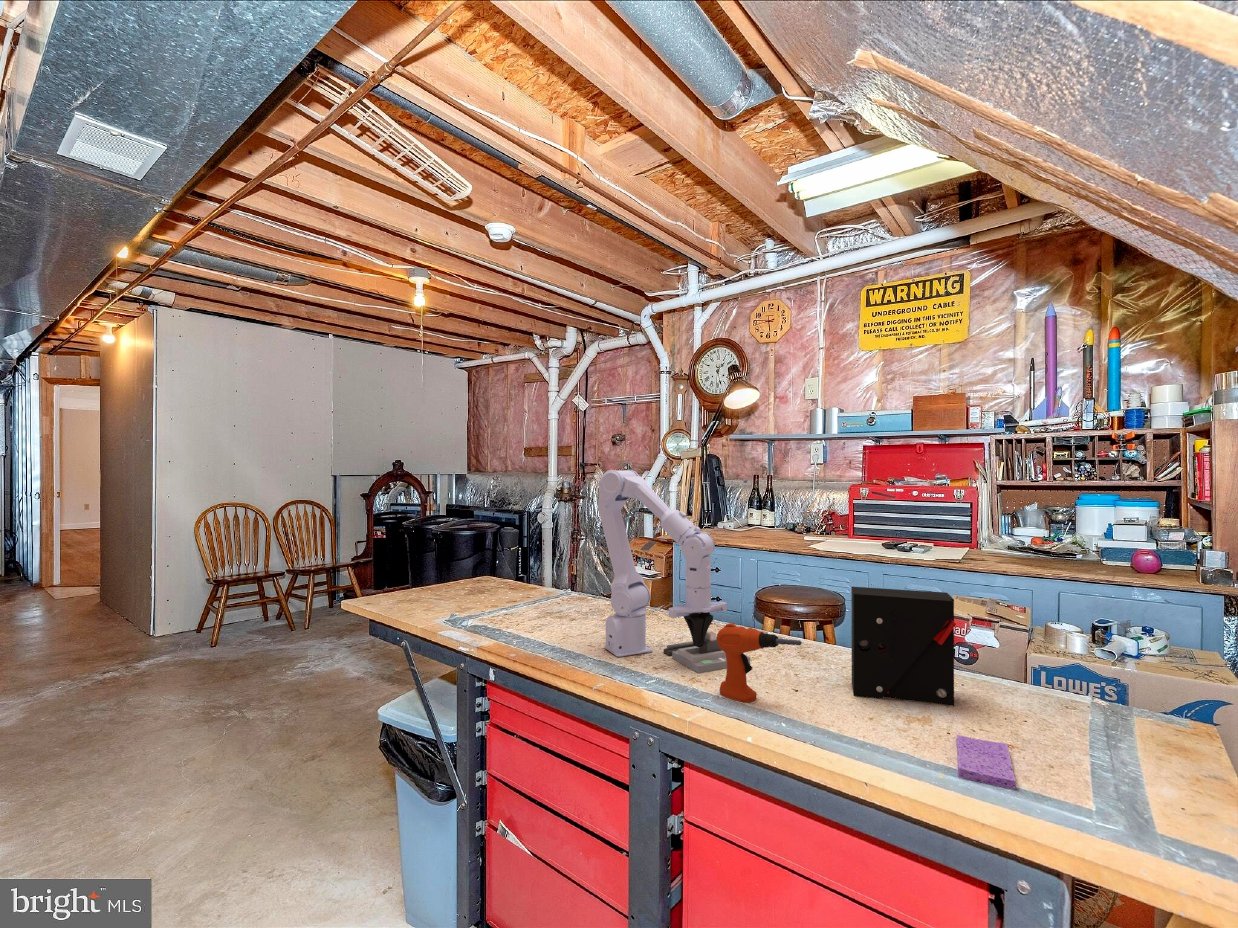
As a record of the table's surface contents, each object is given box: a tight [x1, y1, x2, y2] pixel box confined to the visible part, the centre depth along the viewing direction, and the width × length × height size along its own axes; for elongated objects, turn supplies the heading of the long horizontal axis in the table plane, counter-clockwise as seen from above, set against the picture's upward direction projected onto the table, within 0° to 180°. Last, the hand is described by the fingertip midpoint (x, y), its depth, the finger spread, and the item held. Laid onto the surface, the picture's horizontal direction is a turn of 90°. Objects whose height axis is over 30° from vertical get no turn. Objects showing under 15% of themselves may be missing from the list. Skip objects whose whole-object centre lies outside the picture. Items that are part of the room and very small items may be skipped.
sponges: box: [956, 734, 1017, 790], centre depth 87 cm, size 7×13×2 cm, turn 151°
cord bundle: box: [663, 640, 695, 656], centre depth 140 cm, size 14×3×2 cm, turn 116°
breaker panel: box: [671, 646, 751, 674], centre depth 133 cm, size 14×11×3 cm
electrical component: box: [850, 586, 957, 707], centre depth 114 cm, size 18×10×20 cm, turn 71°
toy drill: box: [716, 622, 803, 703], centre depth 110 cm, size 5×18×14 cm, turn 50°
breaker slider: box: [699, 630, 722, 654], centre depth 133 cm, size 4×3×5 cm
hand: (698, 645), depth 131 cm, fingers closed
